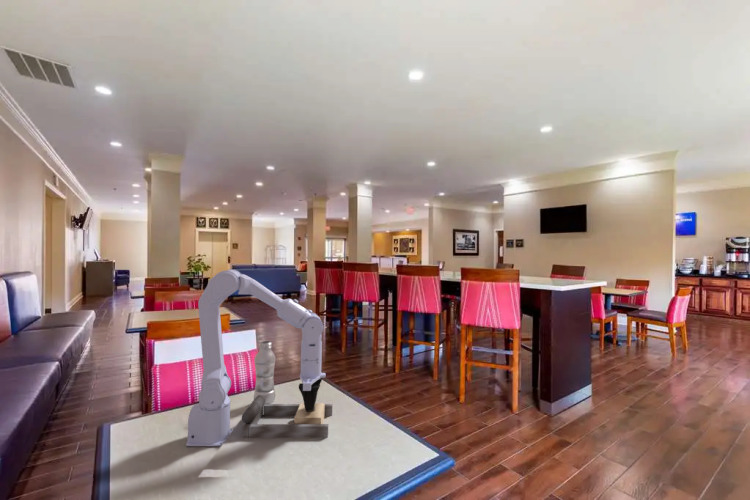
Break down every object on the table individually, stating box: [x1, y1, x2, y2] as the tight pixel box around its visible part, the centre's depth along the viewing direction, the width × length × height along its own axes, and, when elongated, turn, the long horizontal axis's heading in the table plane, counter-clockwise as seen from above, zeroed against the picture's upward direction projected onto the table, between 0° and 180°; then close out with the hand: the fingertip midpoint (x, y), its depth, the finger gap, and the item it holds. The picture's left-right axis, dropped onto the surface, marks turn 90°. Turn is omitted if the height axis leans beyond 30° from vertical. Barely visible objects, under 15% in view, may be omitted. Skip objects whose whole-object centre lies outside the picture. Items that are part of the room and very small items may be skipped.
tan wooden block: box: [293, 402, 326, 424], centre depth 97 cm, size 7×9×8 cm
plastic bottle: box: [253, 340, 277, 406], centre depth 112 cm, size 6×7×20 cm
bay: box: [241, 395, 333, 439], centre depth 96 cm, size 23×14×7 cm, turn 92°
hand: (310, 407), depth 97 cm, fingers closed on tan wooden block, 3 cm apart
